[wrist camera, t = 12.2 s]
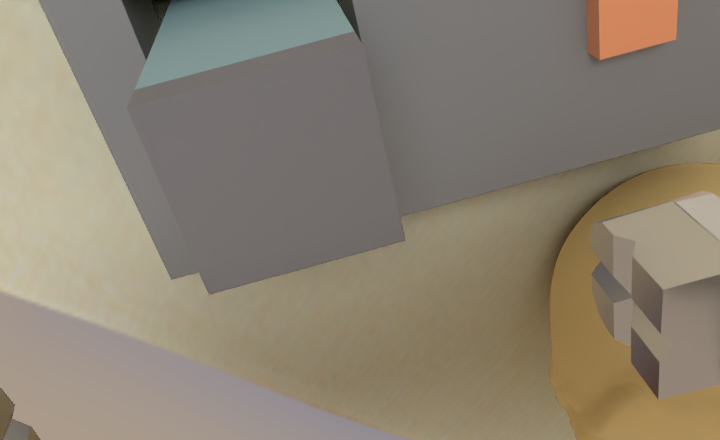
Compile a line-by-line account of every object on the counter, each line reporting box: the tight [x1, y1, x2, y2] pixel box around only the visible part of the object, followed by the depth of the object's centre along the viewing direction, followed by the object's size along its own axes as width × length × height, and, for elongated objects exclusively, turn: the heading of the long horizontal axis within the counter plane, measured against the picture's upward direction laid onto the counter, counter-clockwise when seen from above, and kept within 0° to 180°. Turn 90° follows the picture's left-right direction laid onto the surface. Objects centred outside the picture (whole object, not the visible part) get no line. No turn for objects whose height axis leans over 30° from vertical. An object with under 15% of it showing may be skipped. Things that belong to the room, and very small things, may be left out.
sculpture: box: [549, 163, 720, 440], centre depth 25 cm, size 11×12×11 cm
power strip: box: [39, 0, 720, 280], centre depth 20 cm, size 20×12×5 cm, turn 103°
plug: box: [127, 0, 405, 295], centre depth 17 cm, size 4×4×11 cm
